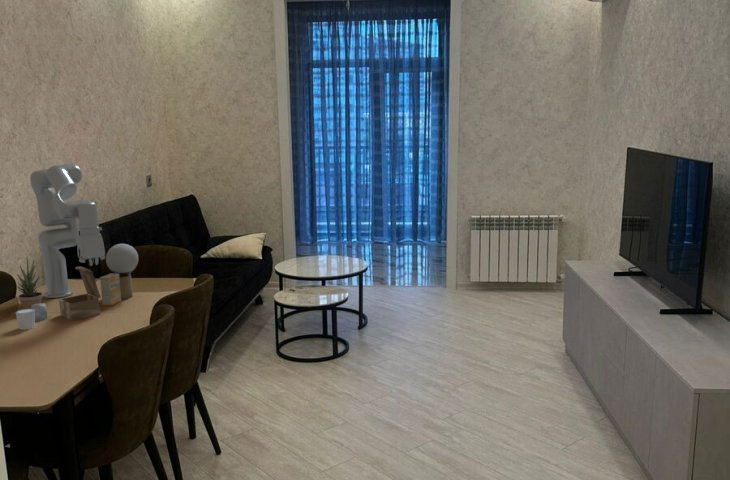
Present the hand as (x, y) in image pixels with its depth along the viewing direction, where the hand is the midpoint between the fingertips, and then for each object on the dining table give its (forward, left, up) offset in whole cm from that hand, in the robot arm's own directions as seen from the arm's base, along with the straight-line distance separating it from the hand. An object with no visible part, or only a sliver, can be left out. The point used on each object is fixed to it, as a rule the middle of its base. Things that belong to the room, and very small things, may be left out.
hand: (93, 274), depth 285 cm
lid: (-3, -3, -4) cm, 6 cm away
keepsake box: (-3, -6, -17) cm, 18 cm away
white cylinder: (-1, -28, -17) cm, 33 cm away
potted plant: (-26, -18, -17) cm, 36 cm away
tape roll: (-10, -20, -17) cm, 28 cm away
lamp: (-17, +20, -17) cm, 31 cm away
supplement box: (-10, +11, -17) cm, 23 cm away
